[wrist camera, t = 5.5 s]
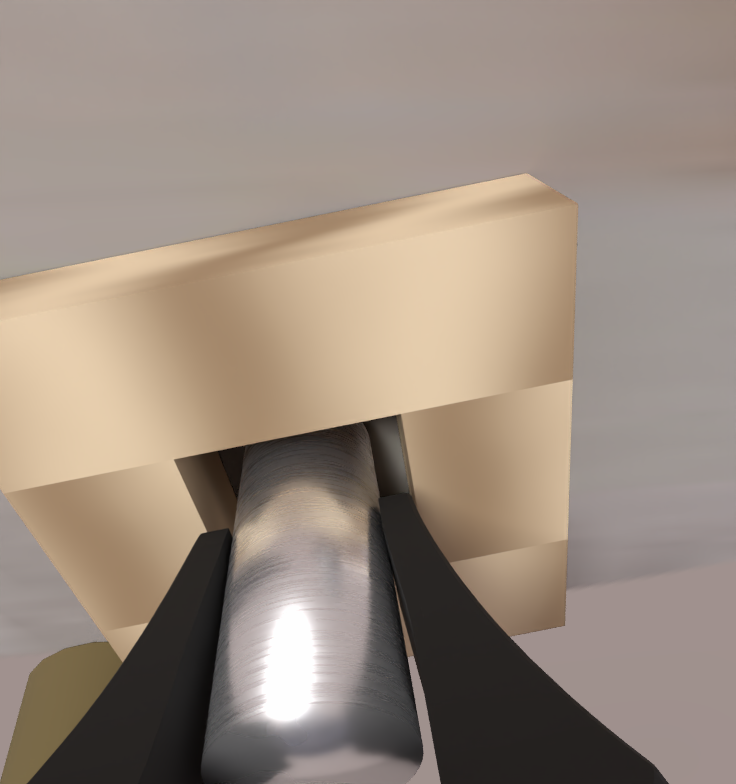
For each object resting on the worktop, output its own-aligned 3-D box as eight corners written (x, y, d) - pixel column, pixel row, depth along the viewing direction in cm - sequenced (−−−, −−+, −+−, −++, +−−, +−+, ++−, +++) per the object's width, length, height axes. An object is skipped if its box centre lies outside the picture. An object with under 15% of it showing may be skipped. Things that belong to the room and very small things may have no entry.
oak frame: (527, 173, 12) (578, 203, 10) (533, 555, 18) (564, 625, 16) (-31, 286, 12) (-105, 341, 10) (171, 627, 18) (154, 706, 16)
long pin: (368, 392, 14) (425, 691, 7) (372, 491, 16) (421, 803, 9) (236, 403, 14) (179, 720, 7) (254, 502, 15) (221, 830, 9)
